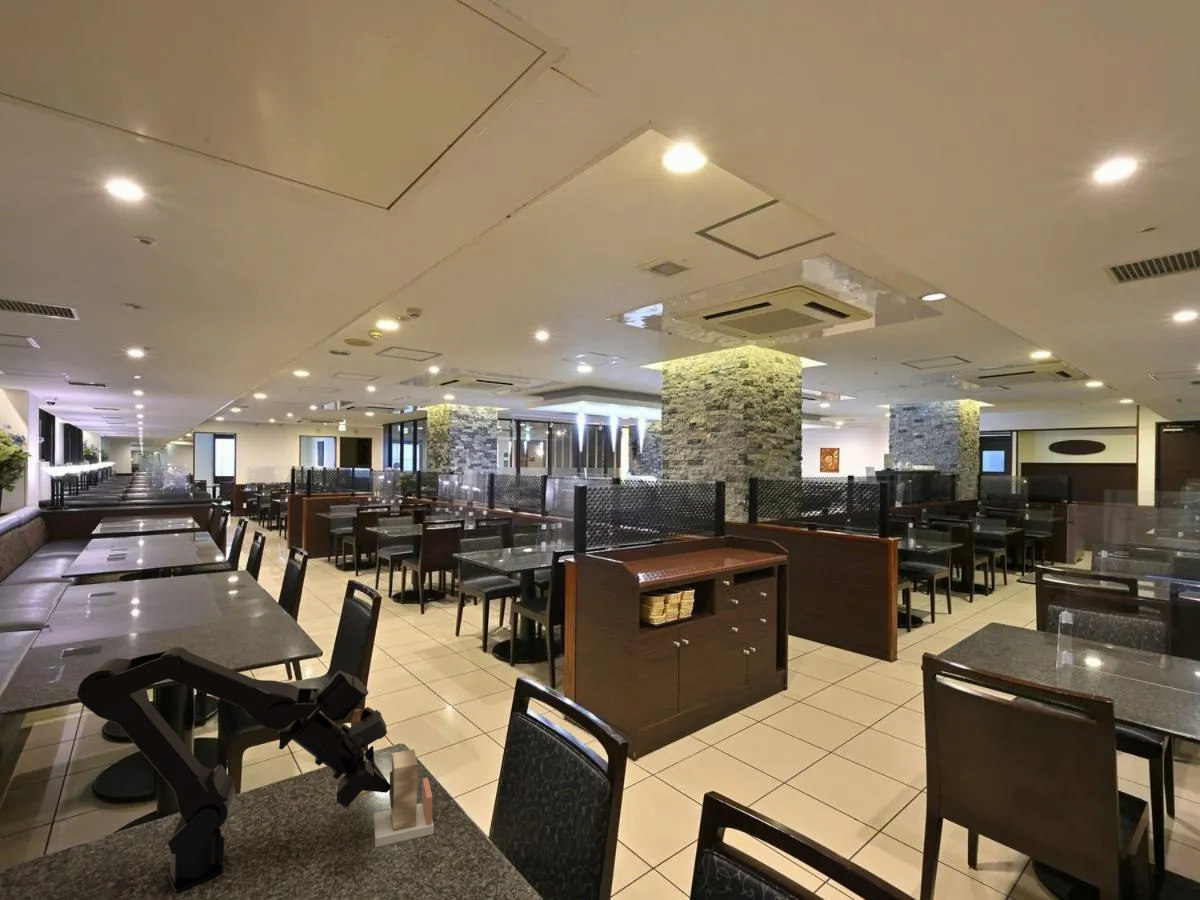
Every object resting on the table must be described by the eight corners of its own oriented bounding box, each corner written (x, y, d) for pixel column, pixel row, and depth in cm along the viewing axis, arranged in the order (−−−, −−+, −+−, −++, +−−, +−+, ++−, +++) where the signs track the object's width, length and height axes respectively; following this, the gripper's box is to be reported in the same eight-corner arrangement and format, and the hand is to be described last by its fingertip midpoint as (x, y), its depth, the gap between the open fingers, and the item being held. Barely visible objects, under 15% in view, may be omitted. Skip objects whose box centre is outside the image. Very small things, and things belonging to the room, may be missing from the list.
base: (375, 847, 102) (376, 810, 102) (373, 821, 109) (374, 786, 110) (433, 833, 106) (434, 797, 106) (428, 809, 113) (429, 776, 114)
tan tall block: (390, 830, 104) (392, 769, 104) (388, 812, 110) (390, 753, 110) (416, 825, 106) (417, 764, 106) (413, 806, 111) (414, 749, 112)
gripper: (360, 723, 97) (427, 777, 101) (359, 684, 114) (416, 731, 118) (306, 781, 93) (377, 834, 97) (313, 731, 110) (374, 778, 115)
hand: (388, 789), depth 107 cm, fingers closed
